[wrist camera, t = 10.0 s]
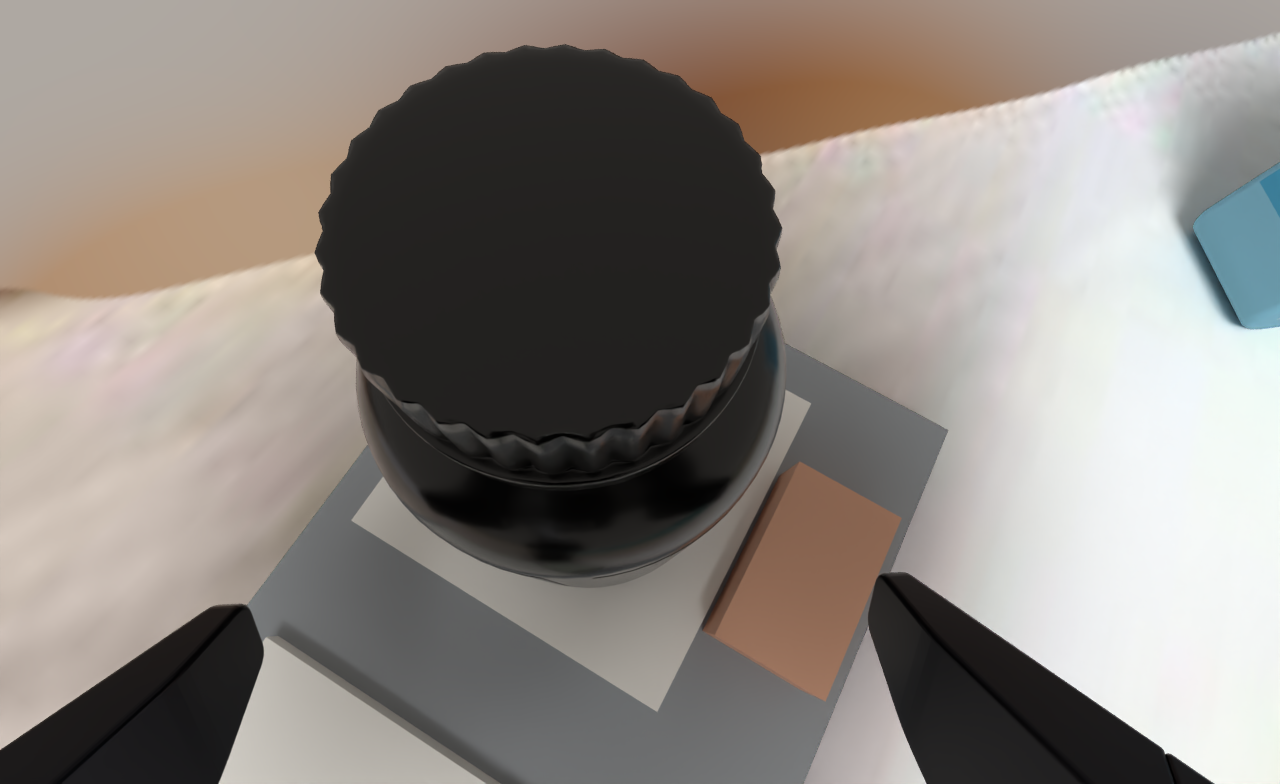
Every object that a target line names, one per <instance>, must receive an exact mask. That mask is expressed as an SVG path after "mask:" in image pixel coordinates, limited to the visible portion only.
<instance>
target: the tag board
mask: <svg viewBox="0 0 1280 784" xmlns="http://www.w3.org/2000/svg"><path fill="white" fill-rule="evenodd" d="M784 345H785V353H786V377H787V378H786V390H785V400H784V406H783V411H782V416H781V420H780V424H779V427H778V430H777V433H776V437H775V440H774V442H773V444H772V447H771V449H770V451H769V454H768V456H767V458H766V460H765V462H764V464H763V465H762V467H761V469H760V471H759V472H758V474H757V476H756V478H755V479H754V480H753V482H752V483H751V485H750V486H749V487H748V489H747V490H746V492H745V493H744V495H743V496H742V497H741V499H740V500H739V501H738V502H737V503H736V504H735V506H734V507H733V508H732V509H731V510H730V511H729V512H728V514H727V515H726V516H725V517H724V518H722V519H721V520H720V521H719V522H718V523H717V524H716V525H715V526H714V527H713V528H712V529H711V530H709V531H708V532H707V533H706V534H704V535H703V536H702V537H700V538H699V539H698V540H696V541H695V542H694V543H692V544H691V545H690V546H688V547H687V548H686V549H684V550H683V551H681V552H680V553H679V554H677V555H676V556H675V557H673V558H672V559H670V560H669V561H668V562H666V563H665V564H664V565H662V566H660V567H659V568H657V569H655V570H654V571H652V572H650V573H648V574H646V575H644V576H642V577H640V578H637V579H634V580H631V581H629V582H626V583H622V584H618V585H614V586H607V587H598V588H581V587H570V586H569V587H568V586H563V585H557V584H553V583H550V582H546V581H542V580H538V579H534V578H530V577H526V576H522V575H519V574H515V573H512V572H508V571H505V570H501V569H499V568H496V567H494V566H491V565H489V564H486V563H483V562H481V561H479V560H477V559H475V558H473V557H471V556H469V555H467V554H465V553H464V552H462V551H460V550H458V549H456V548H455V547H453V546H452V545H450V544H449V543H447V542H446V541H444V540H443V539H441V538H440V537H438V536H437V535H435V534H434V533H433V532H432V531H431V530H429V529H428V528H427V527H426V526H425V525H423V524H422V523H421V522H420V521H419V520H418V519H417V518H416V517H415V516H414V515H413V514H412V513H411V512H410V511H409V510H408V509H407V508H406V507H405V506H404V505H403V504H402V502H401V501H400V500H399V498H398V497H397V496H396V495H395V493H394V492H393V491H392V489H391V488H390V487H389V485H388V483H387V482H386V480H385V478H384V477H383V475H382V473H381V472H380V470H379V468H378V466H377V464H376V462H375V459H374V457H373V455H372V453H371V451H370V448H369V446H368V445H367V446H366V448H365V449H364V450H363V452H362V453H361V454H360V456H359V457H358V458H357V460H356V461H355V462H354V464H353V465H352V466H351V468H350V469H349V470H348V472H347V473H346V474H345V476H344V477H343V478H342V480H341V481H340V482H339V484H338V485H337V486H336V488H335V489H334V490H333V492H332V493H331V494H330V496H329V497H328V498H327V500H326V501H325V502H324V504H323V505H322V506H321V508H320V509H319V510H318V512H317V513H316V514H315V516H314V517H313V518H312V520H311V521H310V522H309V524H308V525H307V526H306V528H305V529H304V530H303V532H302V533H301V534H300V536H299V537H298V538H297V540H296V541H295V542H294V544H293V545H292V546H291V548H290V549H289V550H288V552H287V553H286V554H285V556H284V557H283V558H282V560H281V561H280V562H279V564H278V565H277V566H276V568H275V569H274V570H273V572H272V573H271V574H270V576H269V577H268V578H267V580H266V581H265V582H264V584H263V585H262V586H261V588H260V589H259V590H258V592H257V593H256V594H255V596H254V597H253V598H252V600H251V601H250V602H249V604H248V605H247V607H249V608H250V610H251V612H252V615H253V618H254V620H255V623H256V626H257V629H258V631H259V634H260V637H261V640H262V642H263V646H264V658H263V663H262V666H261V669H260V672H259V674H258V677H257V680H256V683H255V686H254V688H253V691H252V694H251V697H250V700H249V703H248V705H247V708H246V711H245V714H244V717H243V720H242V722H241V725H240V728H239V731H238V734H237V736H236V739H235V742H234V745H233V748H232V751H231V753H230V756H229V759H228V761H227V764H226V767H225V769H224V772H223V774H222V777H221V779H220V781H219V784H803V783H804V781H805V779H806V776H807V774H808V771H809V769H810V766H811V764H812V761H813V759H814V757H815V754H816V752H817V749H818V747H819V744H820V742H821V739H822V737H823V735H824V732H825V730H826V727H827V725H828V722H829V720H830V718H831V715H832V713H833V710H834V708H835V705H836V703H837V700H838V698H839V696H840V693H841V691H842V688H843V686H844V683H845V681H846V678H847V676H848V674H849V671H850V669H851V666H852V664H853V661H854V659H855V656H856V654H857V652H858V649H859V647H860V644H861V642H862V639H863V637H864V634H865V632H866V630H867V627H868V611H869V607H870V602H871V598H872V594H873V589H874V585H875V581H876V578H877V577H878V576H879V575H880V574H882V573H890V571H891V569H892V566H893V564H894V561H895V559H896V556H897V554H898V551H899V549H900V547H901V544H902V542H903V539H904V537H905V534H906V532H907V529H908V527H909V525H910V522H911V520H912V517H913V515H914V512H915V510H916V508H917V505H918V503H919V500H920V498H921V495H922V493H923V490H924V488H925V486H926V483H927V481H928V478H929V476H930V473H931V471H932V468H933V466H934V464H935V461H936V459H937V456H938V454H939V451H940V449H941V446H942V444H943V442H944V439H945V437H946V434H947V432H948V430H947V429H945V428H943V427H941V426H940V425H938V424H936V423H934V422H932V421H930V420H928V419H926V418H924V417H923V416H921V415H919V414H917V413H915V412H913V411H911V410H909V409H908V408H906V407H904V406H902V405H900V404H898V403H896V402H894V401H892V400H891V399H889V398H887V397H885V396H883V395H881V394H879V393H877V392H876V391H874V390H872V389H870V388H868V387H866V386H864V385H862V384H861V383H859V382H857V381H855V380H853V379H851V378H849V377H847V376H845V375H844V374H842V373H840V372H838V371H836V370H834V369H832V368H830V367H829V366H827V365H825V364H823V363H821V362H819V361H817V360H815V359H814V358H812V357H810V356H808V355H806V354H804V353H802V352H800V351H798V350H797V349H795V348H793V347H791V346H789V345H787V344H785V343H784Z"/></svg>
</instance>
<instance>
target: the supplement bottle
mask: <svg viewBox="0 0 1280 784" xmlns="http://www.w3.org/2000/svg"><path fill="white" fill-rule="evenodd" d="M761 168H762V162H761V156H760V155H759V154H758V153H757V152H756V151H755V150H754V149H753V148H752V147H751V146H750V145H749V144H747V143H746V142H745V141H744V138H743V135H742V131H741V129H740V126H739V124H738V123H736V122H735V121H733V120H732V119H730V118H728V117H727V116H725V115H723V114H722V113H721V112H720V111H719V109H718V107H717V105H716V104H715V102H714V101H713V99H712V98H711V97H709V96H706V95H705V94H702V93H700V92H697V91H695V90H692V89H691V88H690V87H689V86H688V85H687V84H686V82H685V81H684V80H683V79H682V78H681V77H680V76H678V75H674V74H670V73H666V72H661V71H658V70H657V69H656V68H655V67H653V66H652V65H650V64H649V63H647V62H646V61H645V60H641V59H632V58H622V57H620V56H618V55H616V54H614V53H612V52H610V51H608V50H606V49H595V50H582V49H578V48H576V47H573V46H569V45H566V44H565V45H558V46H553V47H549V48H538V47H534V46H527V45H524V46H521V47H518V48H515V49H513V50H510V51H508V52H487V53H483V54H481V55H479V56H477V57H476V58H474V59H473V60H471V61H469V62H468V63H462V64H455V65H451V66H446V67H444V68H443V69H442V70H441V71H439V72H438V73H437V75H435V76H434V77H433V78H432V79H430V80H426V81H423V82H419V83H417V84H414V85H411V86H410V87H409V88H408V89H407V90H406V91H405V92H404V94H403V96H402V97H401V98H400V99H399V100H398V101H396V102H394V103H392V104H390V105H388V106H386V107H384V108H382V109H380V110H379V111H378V112H377V114H376V115H375V117H374V119H373V121H372V123H371V125H370V127H369V128H368V129H366V130H365V131H363V132H362V133H360V134H359V135H358V136H357V137H355V138H354V139H353V140H351V143H350V146H349V152H348V156H347V159H345V161H343V162H342V163H341V164H340V165H339V166H338V167H337V169H336V170H335V171H334V172H333V173H332V174H331V182H330V190H331V194H330V195H329V197H328V198H327V200H326V201H325V202H324V204H323V206H322V207H321V209H320V211H319V212H318V213H319V219H320V223H321V225H322V230H323V232H322V234H321V236H320V239H319V241H318V244H317V247H316V250H315V255H316V257H317V260H318V262H319V264H320V266H321V267H322V269H323V276H322V281H321V290H320V294H321V296H322V298H323V300H324V301H325V303H326V304H327V305H328V306H329V308H330V309H331V310H332V311H333V313H334V322H335V330H336V334H337V336H338V338H339V340H340V341H341V342H342V344H343V345H344V346H345V347H346V348H348V349H349V350H350V351H351V352H352V353H353V354H354V355H355V356H356V357H357V363H356V391H357V401H358V409H359V414H360V419H361V423H362V428H363V431H364V434H365V437H366V440H367V443H368V446H369V448H370V451H371V453H372V455H373V457H374V459H375V462H376V464H377V466H378V468H379V470H380V472H381V473H382V475H383V477H384V478H385V480H386V482H387V483H388V485H389V487H390V488H391V489H392V491H393V492H394V493H395V495H396V496H397V497H398V498H399V500H400V501H401V502H402V504H403V505H404V506H405V507H406V508H407V509H408V510H409V511H410V512H411V513H412V514H413V515H414V516H415V517H416V518H417V519H418V520H419V521H420V522H421V523H422V524H423V525H425V526H426V527H427V528H428V529H429V530H431V531H432V532H433V533H434V534H435V535H437V536H438V537H440V538H441V539H443V540H444V541H446V542H447V543H449V544H450V545H452V546H453V547H455V548H456V549H458V550H460V551H462V552H464V553H465V554H467V555H469V556H471V557H473V558H475V559H477V560H479V561H481V562H483V563H486V564H489V565H491V566H494V567H496V568H499V569H501V570H505V571H508V572H512V573H515V574H519V575H522V576H526V577H530V578H534V579H538V580H542V581H546V582H550V583H553V584H557V585H563V586H568V587H569V586H570V587H581V588H598V587H607V586H614V585H618V584H622V583H626V582H629V581H631V580H634V579H637V578H640V577H642V576H644V575H646V574H648V573H650V572H652V571H654V570H655V569H657V568H659V567H660V566H662V565H664V564H665V563H666V562H668V561H669V560H670V559H672V558H673V557H675V556H676V555H677V554H679V553H680V552H681V551H683V550H684V549H686V548H687V547H688V546H690V545H691V544H692V543H694V542H695V541H696V540H698V539H699V538H700V537H702V536H703V535H704V534H706V533H707V532H708V531H709V530H711V529H712V528H713V527H714V526H715V525H716V524H717V523H718V522H719V521H720V520H721V519H722V518H724V517H725V516H726V515H727V514H728V512H729V511H730V510H731V509H732V508H733V507H734V506H735V504H736V503H737V502H738V501H739V500H740V499H741V497H742V496H743V495H744V493H745V492H746V490H747V489H748V487H749V486H750V485H751V483H752V482H753V480H754V479H755V478H756V476H757V474H758V472H759V471H760V469H761V467H762V465H763V464H764V462H765V460H766V458H767V456H768V454H769V451H770V449H771V447H772V444H773V442H774V440H775V437H776V433H777V430H778V427H779V424H780V420H781V416H782V411H783V406H784V400H785V390H786V378H787V377H786V353H785V345H784V338H783V333H782V329H781V325H780V320H779V317H778V314H777V311H776V308H775V305H774V302H773V300H772V298H771V295H770V294H771V292H772V290H773V288H774V286H775V284H776V282H777V280H778V278H779V275H780V269H781V267H780V262H779V257H778V253H777V250H776V249H777V247H778V244H779V241H780V238H781V235H782V226H781V224H780V222H779V219H778V217H777V216H776V214H775V212H774V210H773V207H774V201H775V189H774V188H773V187H772V185H771V184H770V182H769V181H768V180H767V179H766V177H765V176H764V175H763V174H762V169H761Z"/></svg>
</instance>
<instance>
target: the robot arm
mask: <svg viewBox="0 0 1280 784" xmlns="http://www.w3.org/2000/svg"><path fill="white" fill-rule="evenodd" d="M868 626H869V630H870V633H871V636H872V639H873V642H874V645H875V648H876V651H877V654H878V657H879V660H880V663H881V666H882V669H883V672H884V675H885V678H886V681H887V684H888V687H889V690H890V694H891V697H892V700H893V703H894V706H895V709H896V712H897V715H898V717H899V720H900V723H901V726H902V728H903V731H904V734H905V736H906V738H907V741H908V743H909V745H910V748H911V750H912V752H913V755H914V757H915V759H916V761H917V764H918V766H919V768H920V770H921V772H922V775H923V777H924V779H925V781H926V784H1214V783H1213V782H1211V781H1210V780H1208V779H1207V778H1205V777H1204V776H1202V775H1201V774H1199V773H1198V772H1196V771H1195V770H1193V769H1192V768H1191V767H1189V766H1188V765H1186V764H1185V763H1183V762H1182V761H1180V760H1179V759H1177V758H1176V757H1175V756H1173V755H1172V754H1169V753H1168V754H1165V752H1164V750H1163V749H1162V748H1161V747H1160V746H1158V745H1157V744H1155V743H1154V742H1152V741H1151V740H1150V739H1148V738H1147V737H1145V736H1144V735H1142V734H1141V733H1139V732H1138V731H1137V730H1135V729H1134V728H1132V727H1131V726H1129V725H1128V724H1126V723H1125V722H1123V721H1122V720H1121V719H1119V718H1118V717H1116V716H1115V715H1113V714H1112V713H1110V712H1109V711H1108V710H1106V709H1105V708H1103V707H1102V706H1100V705H1099V704H1097V703H1096V702H1094V701H1093V700H1092V699H1090V698H1089V697H1087V696H1086V695H1084V694H1083V693H1081V692H1080V691H1078V690H1077V689H1076V688H1074V687H1073V686H1071V685H1070V684H1068V683H1067V682H1065V681H1064V680H1063V679H1061V678H1060V677H1058V676H1057V675H1055V674H1054V673H1052V672H1051V671H1049V670H1048V669H1047V668H1045V667H1044V666H1042V665H1041V664H1039V663H1038V662H1036V661H1035V660H1033V659H1032V658H1031V657H1029V656H1028V655H1026V654H1025V653H1023V652H1022V651H1020V650H1019V649H1018V648H1016V647H1015V646H1013V645H1012V644H1010V643H1009V642H1007V641H1006V640H1004V639H1003V638H1002V637H1000V636H999V635H997V634H996V633H994V632H993V631H991V630H990V629H989V628H987V627H986V626H984V625H983V624H981V623H980V622H978V621H977V620H975V619H974V618H973V617H971V616H970V615H968V614H967V613H965V612H964V611H962V610H961V609H959V608H958V607H957V606H955V605H954V604H952V603H951V602H949V601H948V600H946V599H945V598H944V597H942V596H941V595H939V594H938V593H936V592H935V591H933V590H932V589H930V588H929V587H928V586H926V585H925V584H923V583H922V582H920V581H919V580H917V579H916V578H915V577H913V576H911V575H910V574H908V573H904V572H898V573H882V574H880V575H879V576H878V577H877V578H876V581H875V585H874V589H873V594H872V598H871V602H870V607H869V611H868ZM263 658H264V646H263V642H262V640H261V637H260V634H259V631H258V629H257V626H256V623H255V620H254V618H253V615H252V612H251V610H250V608H249V607H247V606H246V605H244V604H227V605H216V606H212V607H210V608H209V609H207V610H205V611H204V612H202V613H201V614H199V615H198V616H196V617H195V618H194V619H192V620H191V621H189V622H188V623H186V624H185V625H183V626H182V627H180V628H179V629H177V630H176V631H174V632H173V633H171V634H170V635H169V636H167V637H166V638H164V639H163V640H161V641H160V642H158V643H157V644H155V645H154V646H152V647H151V648H149V649H148V650H146V651H145V652H144V653H142V654H141V655H139V656H138V657H136V658H135V659H133V660H132V661H130V662H129V663H127V664H126V665H124V666H123V667H121V668H120V669H119V670H117V671H116V672H114V673H113V674H111V675H110V676H108V677H107V678H105V679H104V680H102V681H101V682H99V683H98V684H96V685H95V686H94V687H92V688H91V689H89V690H88V691H86V692H85V693H83V694H82V695H80V696H79V697H77V698H76V699H74V700H73V701H71V702H70V703H69V704H67V705H66V706H64V707H63V708H61V709H60V710H58V711H57V712H55V713H54V714H52V715H51V716H49V717H48V718H46V719H45V720H44V721H42V722H41V723H39V724H38V725H36V726H35V727H33V728H32V729H30V730H29V731H27V732H26V733H24V734H23V735H21V736H20V737H19V738H17V739H16V740H14V741H13V742H11V743H10V744H8V745H7V746H5V747H4V748H2V749H1V750H0V784H219V781H220V779H221V777H222V774H223V772H224V769H225V767H226V764H227V761H228V759H229V756H230V753H231V751H232V748H233V745H234V742H235V739H236V736H237V734H238V731H239V728H240V725H241V722H242V720H243V717H244V714H245V711H246V708H247V705H248V703H249V700H250V697H251V694H252V691H253V688H254V686H255V683H256V680H257V677H258V674H259V672H260V669H261V666H262V663H263Z"/></svg>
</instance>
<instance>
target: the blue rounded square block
mask: <svg viewBox="0 0 1280 784" xmlns="http://www.w3.org/2000/svg"><path fill="white" fill-rule="evenodd" d="M1193 229H1194V232H1195V234H1196V236H1197V238H1198V240H1199V242H1200V244H1201V246H1202V248H1203V250H1204V251H1205V253H1206V255H1207V257H1208V259H1209V261H1210V263H1211V265H1212V267H1213V269H1214V271H1215V273H1216V275H1217V277H1218V279H1219V281H1220V283H1221V285H1222V287H1223V289H1224V291H1225V293H1226V295H1227V297H1228V299H1229V301H1230V303H1231V305H1232V306H1233V308H1234V310H1235V312H1236V314H1237V316H1238V318H1239V320H1240V322H1241V324H1242V325H1243V326H1244V327H1246V328H1249V329H1265V328H1273V327H1280V162H1279V163H1277V164H1276V165H1274V166H1273V167H1271V168H1270V169H1268V170H1267V171H1265V172H1263V173H1262V174H1260V175H1259V176H1257V177H1256V178H1254V179H1253V180H1251V181H1250V182H1248V183H1247V184H1245V185H1243V186H1242V187H1240V188H1239V189H1237V190H1236V191H1234V192H1233V193H1231V194H1230V195H1228V196H1226V197H1225V198H1223V199H1222V200H1220V201H1219V202H1217V203H1216V204H1214V205H1213V206H1211V207H1210V208H1208V209H1207V210H1206V211H1204V212H1203V213H1202V214H1201V215H1200V216H1199V217H1198V218H1197V219H1196V221H1195V222H1194V226H1193Z"/></svg>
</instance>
